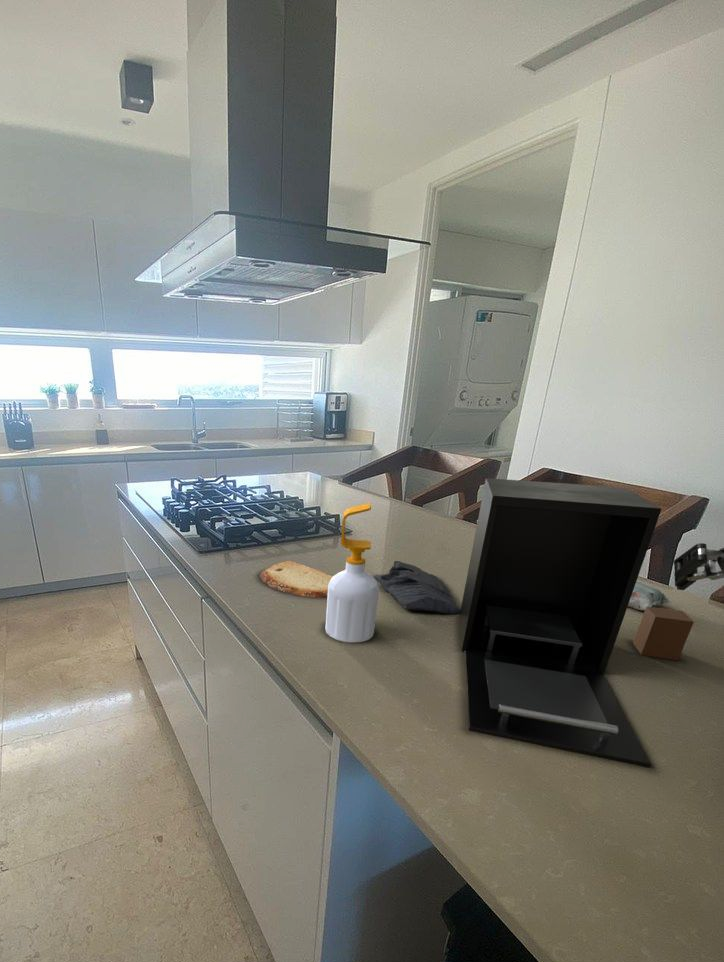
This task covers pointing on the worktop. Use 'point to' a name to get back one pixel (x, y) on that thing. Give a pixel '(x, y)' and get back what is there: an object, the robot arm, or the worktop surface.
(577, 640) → the rack
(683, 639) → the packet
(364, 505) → the soap bottle
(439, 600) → the dark grey crumpled cloth
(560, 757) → the worktop surface
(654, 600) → the packaged food
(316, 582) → the slice of bread
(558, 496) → the oven
